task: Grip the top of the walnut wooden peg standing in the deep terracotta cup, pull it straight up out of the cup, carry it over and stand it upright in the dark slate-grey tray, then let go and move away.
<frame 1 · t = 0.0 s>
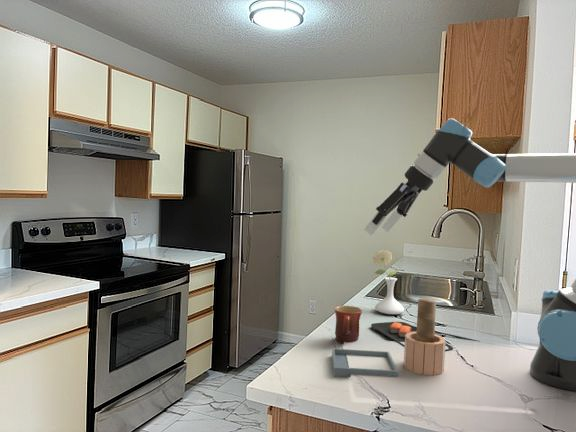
hand: (377, 231, 128), 36 cm above the table, tool tilted 35°, fingers open, 13 cm apart
flower in vase: (387, 313, 176), on the table
mug: (346, 343, 138), on the table
cup: (423, 370, 118), on the table
tray: (362, 367, 119), on the table
peg: (423, 367, 118), point 1 cm above the table, touching cup
sushi plate: (429, 339, 146), on the table
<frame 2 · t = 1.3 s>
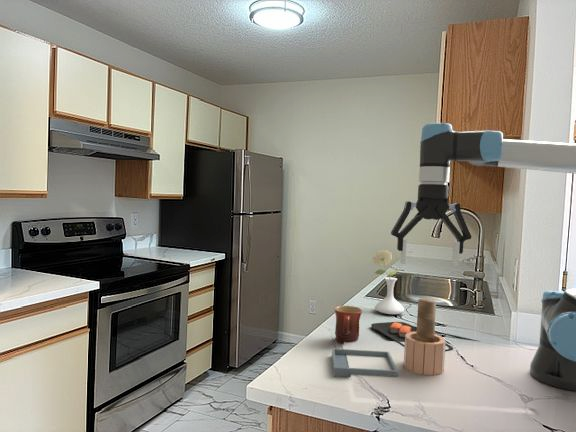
hand: (428, 264, 116), 29 cm above the table, tool pointing down, fingers open, 13 cm apart
nothing on the table moved.
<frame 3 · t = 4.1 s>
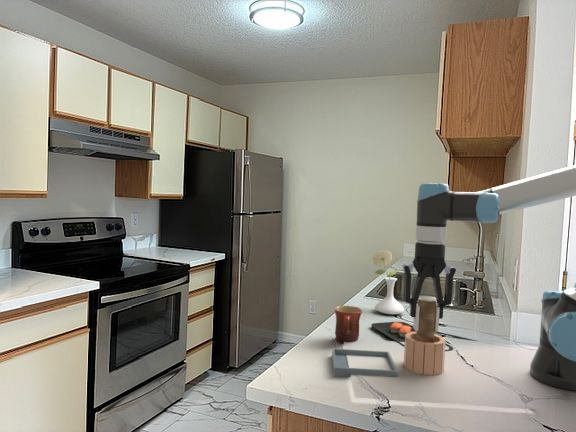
hand: (425, 329, 117), 11 cm above the table, tool pointing down, fingers closed on peg, 4 cm apart
peg: (423, 367, 118), point 1 cm above the table, touching cup, gripper
everything else where it was.
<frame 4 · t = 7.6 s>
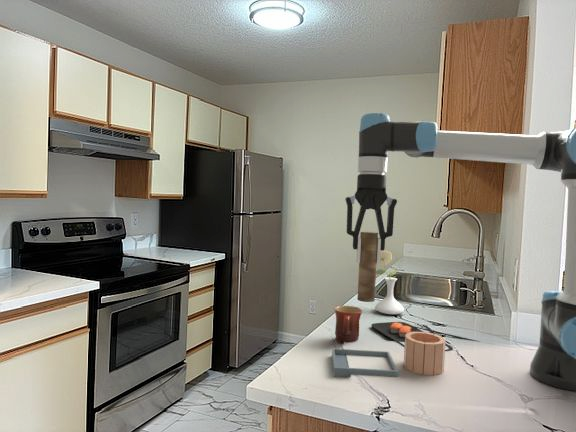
hand: (367, 262, 117), 28 cm above the table, tool pointing down, fingers closed on peg, 4 cm apart
peg: (365, 299, 118), point 18 cm above the table, touching gripper
everything else where it was.
when the fingers open (12 cm above the table, at t = 11.3 s): peg drops 1 cm, resting on tray.
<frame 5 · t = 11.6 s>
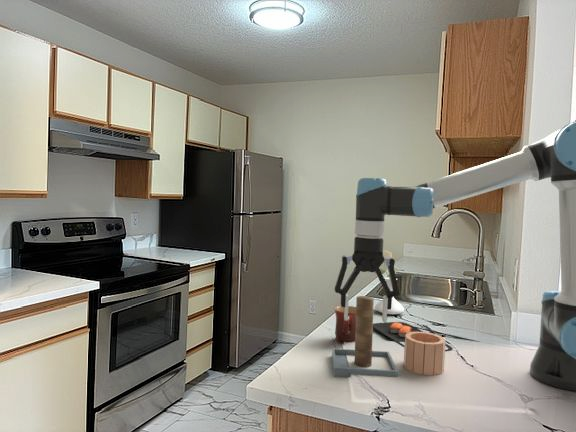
hand: (365, 320, 118), 13 cm above the table, tool pointing down, fingers open, 9 cm apart
peg: (362, 364, 119), point 1 cm above the table, touching tray
everything else where it was.
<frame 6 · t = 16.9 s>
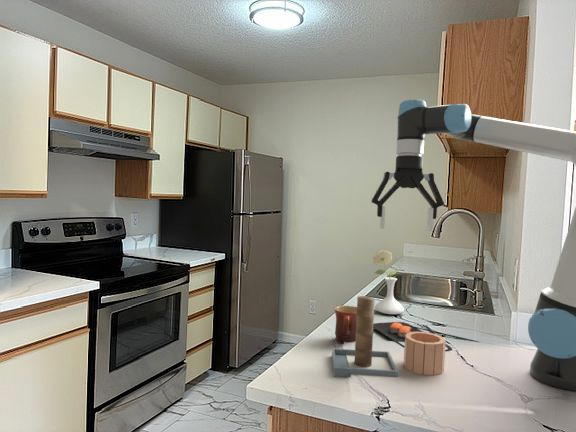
hand: (405, 229, 128), 37 cm above the table, tool pointing down, fingers open, 13 cm apart
nothing on the table moved.
at the end: peg inside the target area on the tray (0.0 cm from its centre), point 0.8 cm above the tray's base; peg tilted 0°; the gripper is holding nothing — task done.
